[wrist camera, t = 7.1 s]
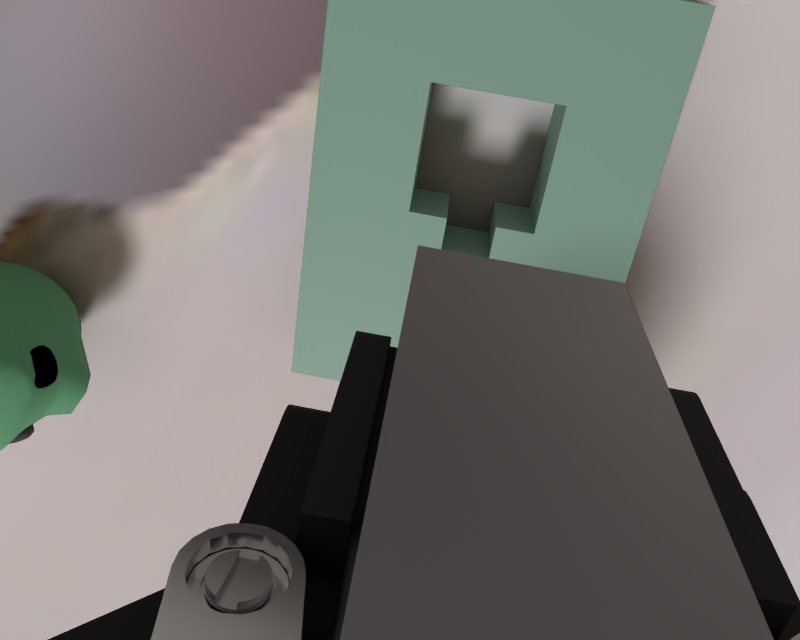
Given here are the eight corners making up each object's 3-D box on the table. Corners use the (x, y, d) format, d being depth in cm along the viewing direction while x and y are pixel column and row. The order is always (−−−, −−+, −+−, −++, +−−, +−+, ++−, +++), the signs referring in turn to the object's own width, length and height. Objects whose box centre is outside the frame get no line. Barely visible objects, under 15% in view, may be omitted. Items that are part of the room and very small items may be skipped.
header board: (691, -1, 26) (719, 7, 22) (571, 385, 33) (580, 430, 30) (349, -60, 26) (331, -60, 23) (306, 337, 33) (289, 376, 30)
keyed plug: (624, 282, 13) (957, 1075, 4) (553, 495, 15) (661, 1303, 6) (418, 245, 13) (278, 946, 4) (378, 462, 15) (235, 1220, 6)
